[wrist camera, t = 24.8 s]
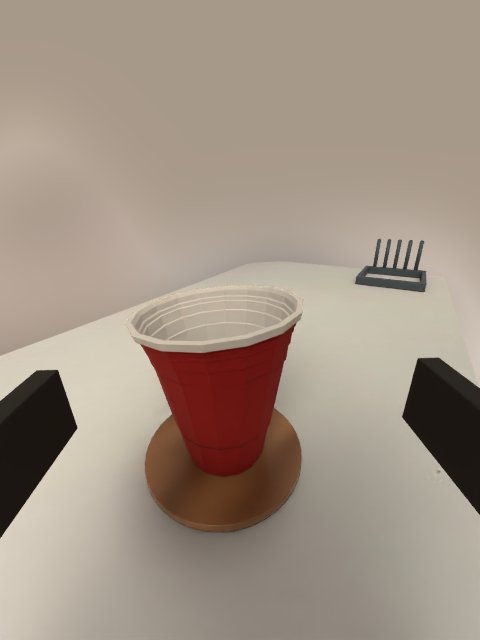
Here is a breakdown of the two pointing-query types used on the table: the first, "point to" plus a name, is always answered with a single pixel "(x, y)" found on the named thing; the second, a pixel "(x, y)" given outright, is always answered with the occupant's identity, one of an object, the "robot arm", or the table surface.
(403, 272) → the grey square frame
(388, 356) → the table surface
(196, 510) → the wooden coaster
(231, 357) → the plastic cup
